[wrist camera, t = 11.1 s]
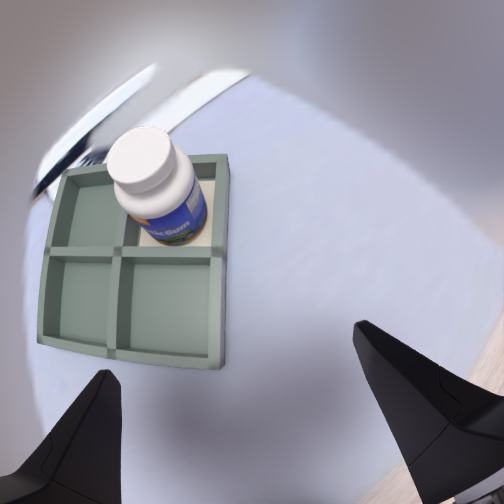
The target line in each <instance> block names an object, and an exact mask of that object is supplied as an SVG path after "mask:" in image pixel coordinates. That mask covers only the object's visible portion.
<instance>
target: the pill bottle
mask: <svg viewBox="0 0 504 504" xmlns="http://www.w3.org/2000/svg"><path fill="white" fill-rule="evenodd" d="M107 170H108V172H109V175H110V176H111V177H112V179H113V180H114V191H115V195H116V198H117V200H118V202H119V204H120V205H121V206H122V207H123V209H124V210H125V211H126V212H127V213H128V214H129V215H130V216H131V217H132V218H133V219H134V220H135V221H136V222H137V223H138V224H139V225H140V226H141V227H142V228H143V229H144V230H145V231H147V232H148V233H149V234H150V235H151V236H152V237H153V238H154V239H155V240H156V241H158V242H159V243H161V244H164V245H167V246H181V245H184V244H187V243H189V242H191V241H192V240H194V239H195V238H196V237H197V236H198V235H199V234H200V233H201V231H202V230H203V228H204V226H205V224H206V221H207V215H208V210H207V204H206V201H205V198H204V195H203V193H202V190H201V187H200V184H199V182H198V179H197V176H196V173H195V171H194V168H193V165H192V163H191V161H190V159H189V157H188V155H187V154H186V153H185V152H184V151H183V150H182V149H181V148H180V147H178V146H176V145H174V144H172V142H171V140H170V138H169V136H168V135H167V133H166V132H165V131H163V130H162V129H160V128H158V127H154V126H143V127H138V128H135V129H132V130H130V131H129V132H127V133H125V134H124V135H122V136H121V137H120V138H119V139H118V140H117V141H116V142H115V143H114V145H113V146H112V148H111V150H110V152H109V154H108V158H107Z"/></svg>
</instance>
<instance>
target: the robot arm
mask: <svg viewBox="0 0 504 504" xmlns="http://www.w3.org/2000/svg"><path fill="white" fill-rule="evenodd" d="M353 343H354V346H355V349H356V352H357V355H358V357H359V360H360V363H361V366H362V368H363V371H364V374H365V377H366V379H367V381H368V384H369V386H370V388H371V390H372V392H373V394H374V396H375V398H376V400H377V402H378V404H379V406H380V408H381V410H382V412H383V415H384V417H385V419H386V421H387V423H388V425H389V427H390V429H391V432H392V434H393V436H394V438H395V440H396V442H397V445H398V447H399V449H400V451H401V453H402V456H403V458H404V460H405V462H406V465H407V467H408V470H409V472H410V474H411V477H412V479H413V481H414V484H415V486H416V488H417V491H418V493H419V496H420V498H421V500H422V503H423V504H439V503H441V502H443V501H446V500H448V499H450V498H452V497H454V499H455V502H453V504H504V396H500V395H496V394H494V393H492V392H489V391H487V390H485V389H483V388H481V387H479V386H476V385H474V384H472V383H470V382H468V381H466V380H464V379H462V378H460V377H458V376H457V375H455V374H453V373H451V372H450V371H448V370H446V369H445V368H443V367H441V366H439V365H438V364H437V363H435V362H433V361H432V360H430V359H428V358H427V357H425V356H424V355H422V354H420V353H419V352H417V351H416V350H414V349H412V348H411V347H409V346H407V345H406V344H404V343H403V342H401V341H399V340H398V339H396V338H395V337H393V336H391V335H390V334H388V333H386V332H385V331H383V330H382V329H380V328H378V327H377V326H375V325H374V324H372V323H370V322H369V321H367V320H362V321H359V322H356V323H355V324H354V331H353ZM121 433H122V407H121V385H120V383H119V381H118V380H117V378H116V377H115V376H114V374H113V373H112V372H111V371H110V370H108V369H106V370H99V371H98V372H97V374H96V375H95V376H94V377H93V378H92V380H91V381H90V382H89V383H88V385H87V386H86V387H85V388H84V389H83V391H82V392H81V393H80V394H79V396H78V397H77V398H76V399H75V401H74V402H73V403H72V404H71V406H70V407H69V408H68V409H67V411H66V412H65V413H64V414H63V416H62V417H61V418H60V420H59V421H58V422H57V423H56V425H55V426H54V427H53V429H52V430H51V432H49V434H48V435H47V436H46V438H45V439H44V440H43V442H42V443H41V444H40V445H39V446H38V447H37V449H36V450H35V451H34V452H33V453H32V454H31V455H30V457H29V458H28V459H27V460H26V461H25V462H24V463H23V464H22V465H21V467H20V468H19V469H18V470H17V471H15V472H14V473H12V474H10V475H7V476H2V477H0V504H122V503H121Z"/></svg>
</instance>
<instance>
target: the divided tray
mask: <svg viewBox="0 0 504 504" xmlns="http://www.w3.org/2000/svg"><path fill="white" fill-rule="evenodd" d="M188 157H189V159H190V161H191V163H192V165H193V168H194V171H195V173H196V176H197V179H198V182H199V184H200V187H201V190H202V193H203V195H204V198H205V201H206V204H207V210H208V215H207V221H206V224H205V226H204V228H203V230H202V231H201V233H200V234H199V235H198V236H197V237H196V238H195V239H194V240H192V241H191V242H189V243H187V244H184V245H181V246H167V245H164V244H161V243H159V242H158V241H156V240H155V239H154V238H153V237H152V236H151V235H150V234H149V233H148V232H147V231H145V230H144V229H143V228H142V227H141V226H140V225H139V224H138V223H137V222H136V221H135V220H134V219H133V218H132V217H131V216H130V215H129V214H128V213H127V212H126V211H125V210H124V209H123V207H122V206H121V205H120V204H119V202H118V200H117V198H116V195H115V191H114V180H113V179H112V177H111V176H110V175H109V172H108V170H107V163H105V164H98V165H91V166H84V167H78V168H72V169H67V170H63V173H62V177H61V180H60V183H59V187H58V191H57V194H56V198H55V202H54V206H53V210H52V215H51V219H50V224H49V229H48V234H47V239H46V244H45V250H44V257H43V263H42V271H41V279H40V289H39V300H38V316H37V343H39V344H43V345H47V346H51V347H55V348H59V349H63V350H68V351H72V352H77V353H82V354H87V355H92V356H97V357H103V358H109V359H115V360H121V361H128V362H135V363H142V364H150V365H159V366H169V367H179V368H192V369H207V370H220V369H221V368H222V367H223V366H224V365H225V302H226V262H227V232H228V207H229V185H230V169H229V163H228V156H227V154H207V155H188Z"/></svg>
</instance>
